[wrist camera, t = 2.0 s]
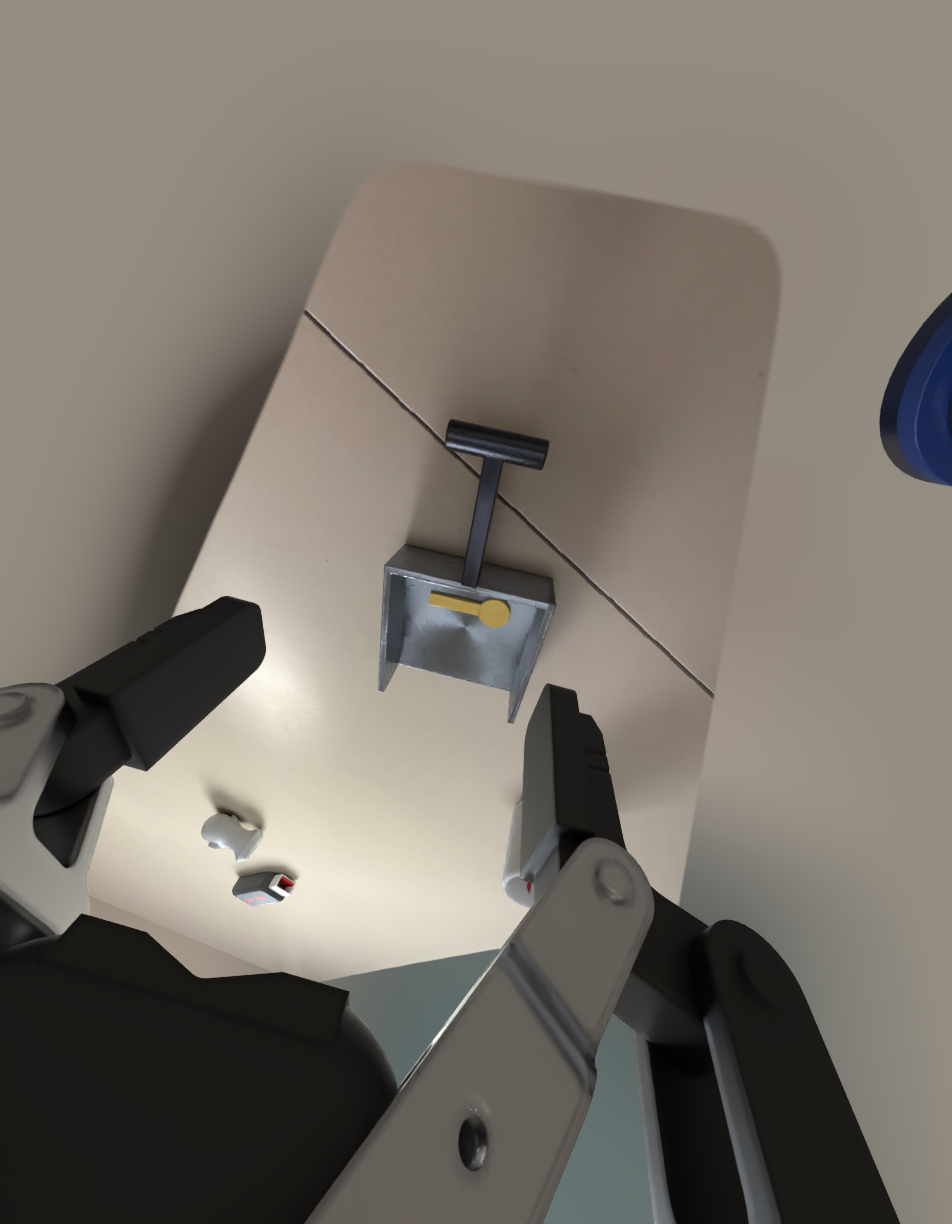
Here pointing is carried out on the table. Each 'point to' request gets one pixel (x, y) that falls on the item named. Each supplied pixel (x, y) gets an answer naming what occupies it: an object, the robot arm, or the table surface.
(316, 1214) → the robot arm
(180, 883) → the table surface
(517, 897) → the cup
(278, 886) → the usb drive
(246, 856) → the smooth white sculpture
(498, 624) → the yellow spoon
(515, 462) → the metal dustpan with handle
